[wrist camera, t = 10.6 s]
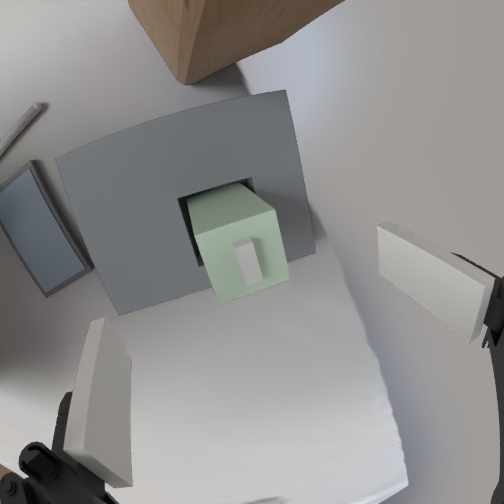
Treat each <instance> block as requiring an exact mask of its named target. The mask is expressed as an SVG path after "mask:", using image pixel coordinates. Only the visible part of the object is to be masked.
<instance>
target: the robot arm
mask: <svg viewBox="0 0 504 504" xmlns="http://www.w3.org/2000/svg"><path fill="white" fill-rule="evenodd" d="M377 237H378V274H380V275H381V276H382V277H383V278H385V279H386V280H387V281H389V282H390V283H392V284H393V285H394V286H396V287H397V288H398V289H400V290H401V291H402V292H404V293H405V294H406V295H408V296H409V297H410V298H412V299H413V300H414V301H416V302H417V303H418V304H419V305H421V306H422V307H423V308H425V309H426V310H427V311H429V312H430V313H431V314H432V315H434V316H435V317H436V318H437V319H439V320H440V321H441V322H442V323H444V324H445V325H446V326H448V327H449V328H450V329H451V330H453V331H454V332H455V333H456V334H457V335H459V336H460V337H461V338H462V339H464V340H465V341H466V342H467V343H471V342H472V341H473V340H474V339H476V338H477V337H478V336H479V335H480V333H481V329H482V326H483V323H484V324H485V325H486V326H488V328H487V331H486V334H485V337H484V340H483V343H482V348H484V346H485V344H486V341H488V343H489V344H488V346H487V347H488V348H490V353H491V358H492V364H493V370H494V377H495V384H496V392H497V400H498V411H499V424H500V477H499V482H498V484H497V487H496V489H495V490H494V492H493V495H492V499H491V504H504V277H502V278H500V277H498V276H497V275H495V274H493V273H491V272H490V271H488V270H486V269H484V268H483V267H481V266H479V265H476V263H474V262H472V261H469V260H468V259H466V258H465V257H463V256H461V255H458V254H454V253H450V252H448V251H446V250H444V249H442V248H441V247H439V246H437V245H435V244H433V243H431V242H429V241H427V240H425V239H423V238H421V237H419V236H417V235H415V234H413V233H411V232H409V231H407V230H405V229H403V228H401V227H399V226H397V225H395V224H393V223H390V222H389V221H388V222H385V223H383V224H380V225H377ZM131 369H132V361H131V360H130V358H129V356H128V355H127V353H126V352H125V350H124V348H123V347H122V345H121V343H120V342H119V340H118V338H117V337H116V335H115V333H114V332H113V330H112V328H111V326H110V325H109V323H108V321H107V319H106V317H103V318H100V319H97V320H93V321H91V322H90V326H89V329H88V332H87V336H86V340H85V343H84V347H83V351H82V355H81V359H80V363H79V367H78V371H77V375H76V380H75V384H74V389H73V392H68V393H66V394H65V396H64V398H63V399H62V401H61V403H60V406H59V411H58V416H57V421H56V424H57V425H56V426H55V432H54V438H53V444H52V450H50V449H48V448H47V447H46V446H45V445H44V444H43V443H40V442H32V443H30V444H28V445H27V446H26V447H25V448H24V449H23V450H22V452H21V454H20V456H19V467H20V470H21V471H22V472H24V473H25V474H26V475H28V476H29V477H28V478H25V479H23V478H21V477H20V476H18V475H17V474H16V473H12V472H10V473H7V474H6V475H4V476H3V478H2V479H1V481H0V500H1V504H119V503H118V502H117V501H116V500H115V499H114V498H113V497H112V496H111V495H110V494H109V493H108V492H106V491H105V482H106V483H107V484H109V485H110V486H112V487H113V488H122V487H132V486H133V480H132V464H131V436H130V398H131Z"/></svg>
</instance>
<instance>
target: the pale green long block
mask: <svg viewBox="0 0 504 504" xmlns="http://www.w3.org/2000/svg"><path fill="white" fill-rule="evenodd" d="M187 204H188V209H189V214H190V218H191V223H192V228H193V232H194V236H195V239H196V242H197V245H198V248H199V251H200V253H201V256H202V259H203V262H204V265H205V267H206V270H207V273H208V276H209V279H210V281H211V284H212V287H213V289H214V292H215V295H216V297H217V300H218V303H219V305H220V304H223V303H226V302H229V301H232V300H235V299H237V298H240V297H243V296H246V295H249V294H252V293H254V292H257V291H260V290H263V289H265V288H268V287H271V286H274V285H276V284H279V283H282V282H285V281H287V280H290V274H289V269H288V265H287V260H286V256H285V251H284V247H283V242H282V238H281V233H280V229H279V224H278V220H277V216H276V211H275V209H274V208H273V207H271V206H270V205H269V204H267V203H266V202H265V201H263V200H262V199H261V198H259V197H258V196H257V195H255V194H254V193H253V192H251V191H250V190H249V189H247V188H246V187H245V186H243V185H242V184H241V183H239V182H236V183H233V184H230V185H227V186H224V187H220V188H217V189H214V190H211V191H208V192H205V193H202V194H199V195H196V196H193V197H190V198H187Z"/></svg>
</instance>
